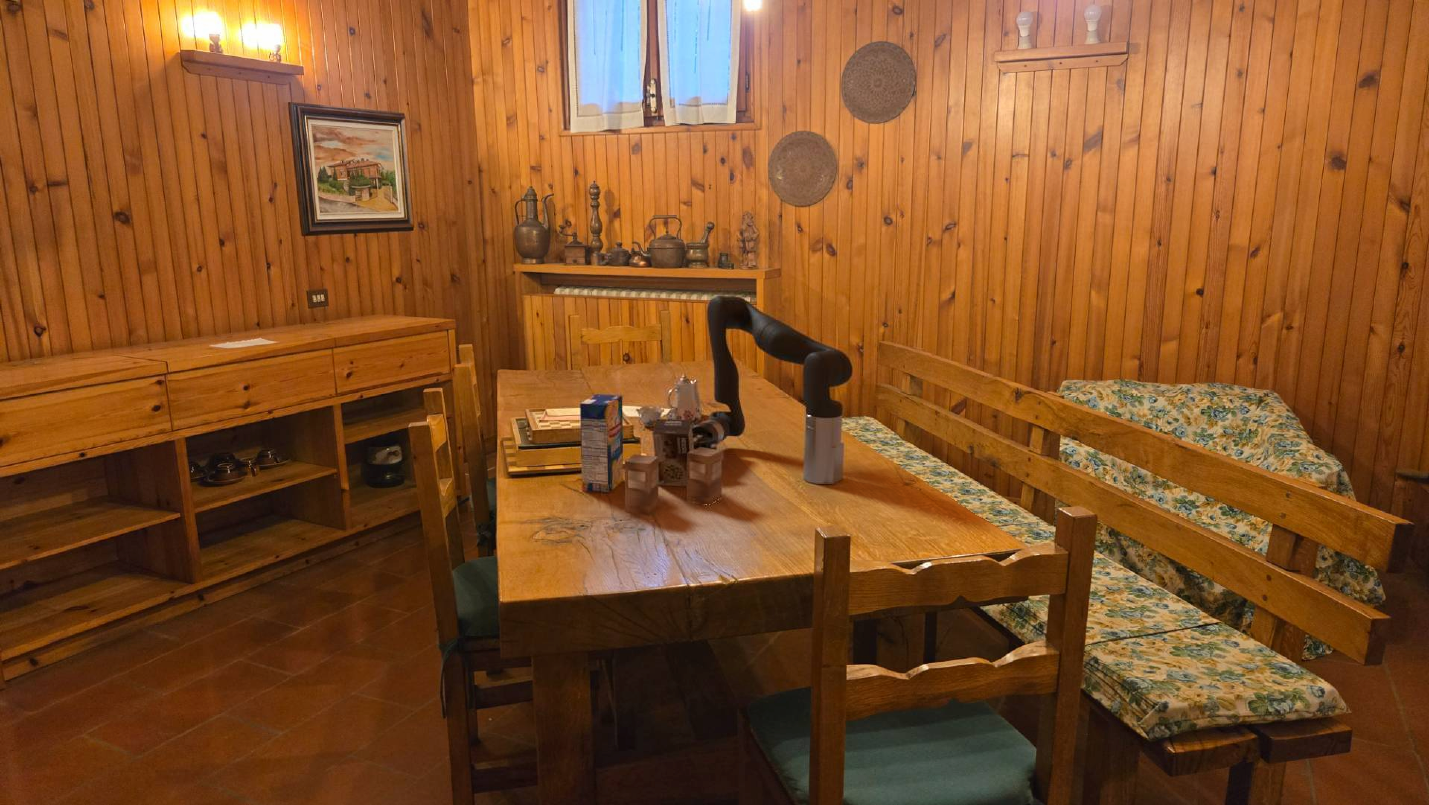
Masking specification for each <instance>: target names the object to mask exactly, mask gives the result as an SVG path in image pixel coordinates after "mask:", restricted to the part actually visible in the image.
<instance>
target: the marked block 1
mask: <svg viewBox="0 0 1429 805" xmlns="http://www.w3.org/2000/svg"><path fill="white" fill-rule="evenodd" d="M658 483H659V466H658V457H656V456H655V455H653V456H652V455H643V454H632V455H631V456H629V458H627V459H626V460H625V461H624V512H625V513H634V514H642V515H651V514H652V513H654V511H655V510H656V509H657V508H658V507H659V485H658Z"/></svg>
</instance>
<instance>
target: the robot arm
mask: <svg viewBox="0 0 1429 805" xmlns="http://www.w3.org/2000/svg"><path fill="white" fill-rule="evenodd" d="M706 320H707V328H708V334H709V341H710V347H711V354H712V355H711V356H712V361H713V375H714V376H713V382H714V384H713V386H714V387H713V388H714V389H713V390H714V392H713V394H714V395H713V398H714V401H715V402H716V403H719V404H723V405H726V406H727V407H728V410H729V411H723V410H721V411H720V410H717V411H713V412H711V413H710V414H709V416H708V418H707V420H704V421H701V422H699V423H697V424H698V425H696V426H694V427H692V429H693V444H694V450H695V449H697V448H699V447H704V448H710V449H715V450H718V445H719V444H720V443H721V442H723V441H724V440H725V439H727V437H739V436H741V435H743V433H744V432H745V429H746V421H745V416H744V412H743V409H742V405H741V401H740V392H739V391H740V376H739V369H738V366H737V364H736V361H735V360H734V358H733V355H732V353H731V351H730V349H729V345H728V341H727V330H740V331H743V332H745V333H747V334H749V335H751V336H753V340H754V343H755V345H756V346H757V347H758V349H760V350H761V351H762V352H764V353H766V354H767V355H769V356H771V357H773V359H776V360H780V361H783V362H786V363H792V364H796V365H801V366H803V367H802V396H803V397H802V398H803V403H804V407H805V421H804V422H805V426H804V449H803V450H804V455H803V480H804V481H806V482H809V483H812V484H818V485H835V484H837V483H838V482H840V481H842V480H843V479H844V478H843V477H844V476H843V475H844V454H845V452H844V451H845V443H844V442H842V432H843V431H842V429H843V428H842V427H843V408H844V407H843V404H842V403H841V401H839V400H836V399H833V398H832V397H831V391H830V388H833V387H839V386H842V385H844V384H846V383H847V382H848V381H849V380H851V378H852V376H853V365H852V362H851V360H850V358H849V357H848V356H847V354H845V353H844V352H843V351H841V350H839V349H838V348H837V349H836V347H835V348H834V347H831V346H829V345H828V344H827V345H826V344H824V343H821V342H819V341H817V340H814V339H813V338H811V337H810V336H808V335H805V334H804V333H802V332H800V331H798V330H796V329H795V328H793V327H791V326H790V325H788V324H786V323H784V322H782V321H780V320H779V319H776V318H774V317H772V316H770V315H769V314H767V313H765V312H762V311H761V310H759V309H758V308H757V307H755V306H754V305H753V304H751V302H749V301H748V300H746V299H744V298H743V297H740V296H732V295H729V296H728V295H718V296H714V297H712V298H711V299H710V300H709V302H708V305H707V308H706Z"/></svg>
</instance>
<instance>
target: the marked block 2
mask: <svg viewBox="0 0 1429 805" xmlns="http://www.w3.org/2000/svg"><path fill="white" fill-rule="evenodd" d="M722 473H723V450H719V449H717V450H715V449H710V448H704V447H699V448H697V449H695V450H692V451H690V452H688V453H687V486H686V502H687V501H690V502H689V503H692V502H695V503H694V504H697V503H699V504H698V505H702V504H707V505H709V504H711V505H713V504H714V503H713V502H715V501H717V502H718V499H720V498H722V496H723V495H722V492H723V489H722V486H723V483H722V481H723V480H722V479H723V477H722V476H723V474H722ZM720 500H721V499H720ZM712 503H713V504H712ZM715 503H716V502H715ZM709 506H710V505H709Z"/></svg>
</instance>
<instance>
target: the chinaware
mask: <svg viewBox="0 0 1429 805" xmlns="http://www.w3.org/2000/svg"><path fill="white" fill-rule="evenodd" d="M698 383H699V378H698V379H697V378H696V379H695V380H694V381H692V380H691V379H690V378H689V377H688V376H687V375H686V373H683V374H682V376H681V377H680V378H679V380H678V381H677V380H676V381H674V383H673V384H674V386H675V387H672V388H671V389H670V390H669V391H668V393H667V397H666V402H667V403H666V404H667V406H668V407H669V408H670V409H669V411H668V412H667V414H666V417H667V418H666V419H675V420H692V427H694V426H696V425H698V424H699V423H698V422H699V421H700V419H701V418H702V415H703V414H702V412H703V411H704V410H705V404H704V402H702V400H701V396H700V393H699V388H698ZM673 392H674V393H675V397H674V400H673V404H671V395H672V393H673ZM701 404H702V409H701ZM635 411H636V413H637V414H638V424H639V425H640V426H642V425H643V426H644V427H648V428H649V427H650V428H651V427H653V428H654V427H655V424H656V420H657V419H662V418H661V417H662V414H663V413H664V412H665V409H664V408H663V409H662V408H661V407H660V406H653V407H650V406H645V405H644V406H642V407H640V408H636V409H635ZM641 422H642V423H641Z"/></svg>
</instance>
